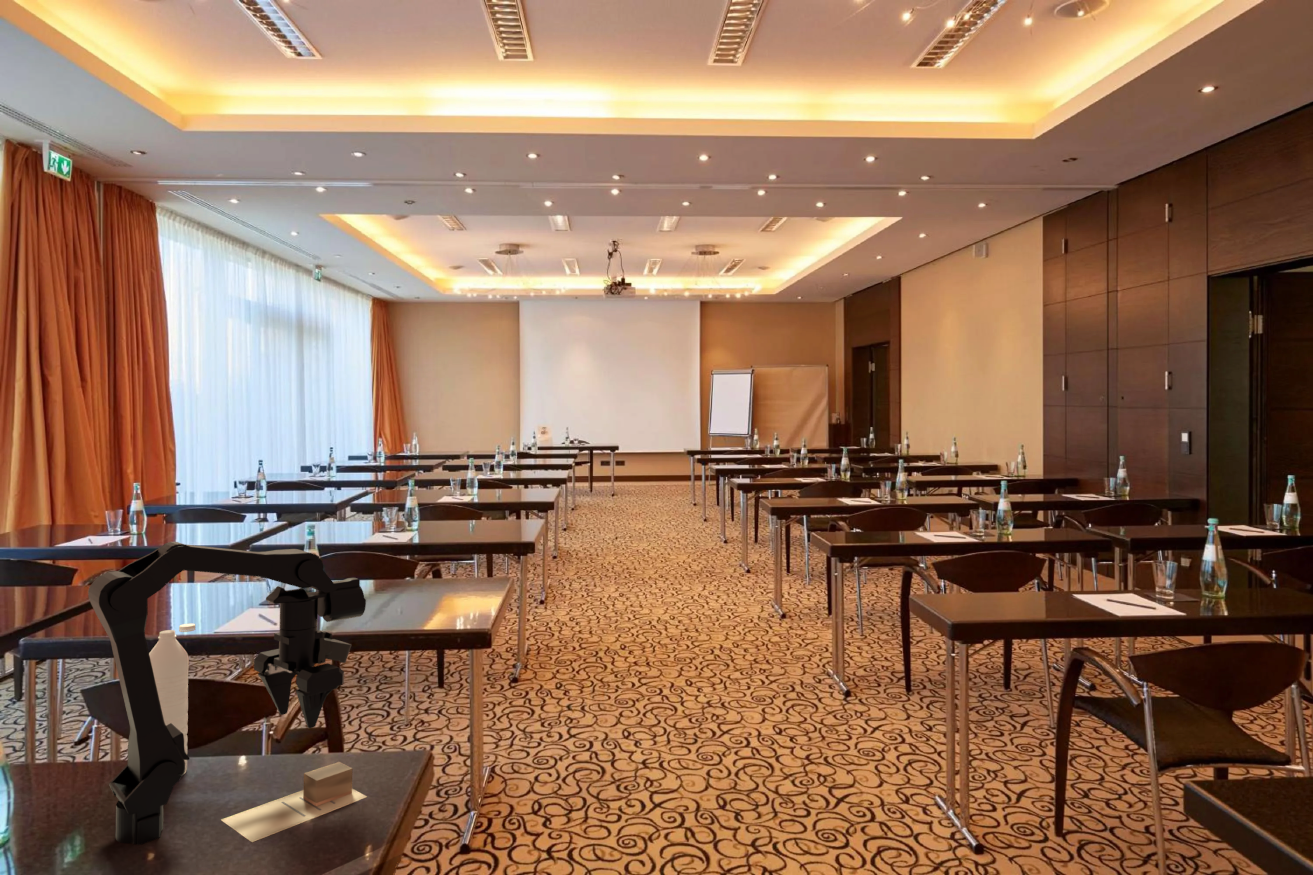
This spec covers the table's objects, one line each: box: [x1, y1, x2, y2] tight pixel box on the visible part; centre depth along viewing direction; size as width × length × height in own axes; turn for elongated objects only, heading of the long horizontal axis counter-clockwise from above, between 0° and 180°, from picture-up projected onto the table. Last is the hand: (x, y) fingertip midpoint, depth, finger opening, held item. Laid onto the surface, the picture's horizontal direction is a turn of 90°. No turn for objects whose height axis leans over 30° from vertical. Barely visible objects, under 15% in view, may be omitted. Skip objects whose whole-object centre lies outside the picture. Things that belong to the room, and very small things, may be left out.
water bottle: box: [149, 623, 196, 776], centre depth 135 cm, size 9×6×25 cm
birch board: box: [220, 788, 368, 843], centre depth 120 cm, size 10×18×2 cm, turn 142°
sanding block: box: [302, 761, 353, 806], centre depth 124 cm, size 4×6×4 cm, turn 142°
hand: (297, 720), depth 128 cm, fingers open, 9 cm apart
